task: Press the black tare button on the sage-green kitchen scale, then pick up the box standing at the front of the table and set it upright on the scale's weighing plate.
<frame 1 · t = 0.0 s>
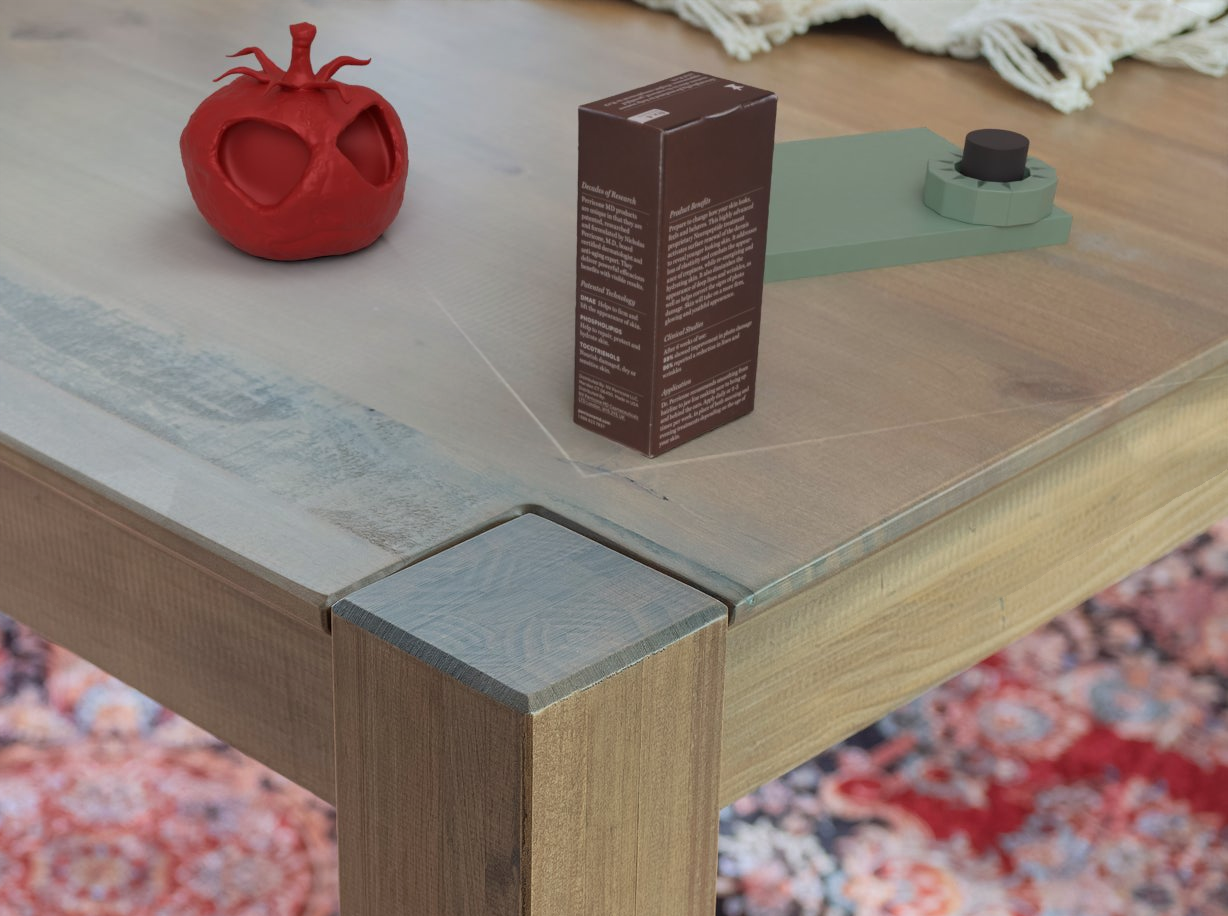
scale: (843, 215, 89), on the table
tare button: (994, 157, 86), point 4 cm above the table, slide at 0.1 cm
tomato with eye holes: (299, 240, 86), on the table
box: (658, 424, 72), on the table
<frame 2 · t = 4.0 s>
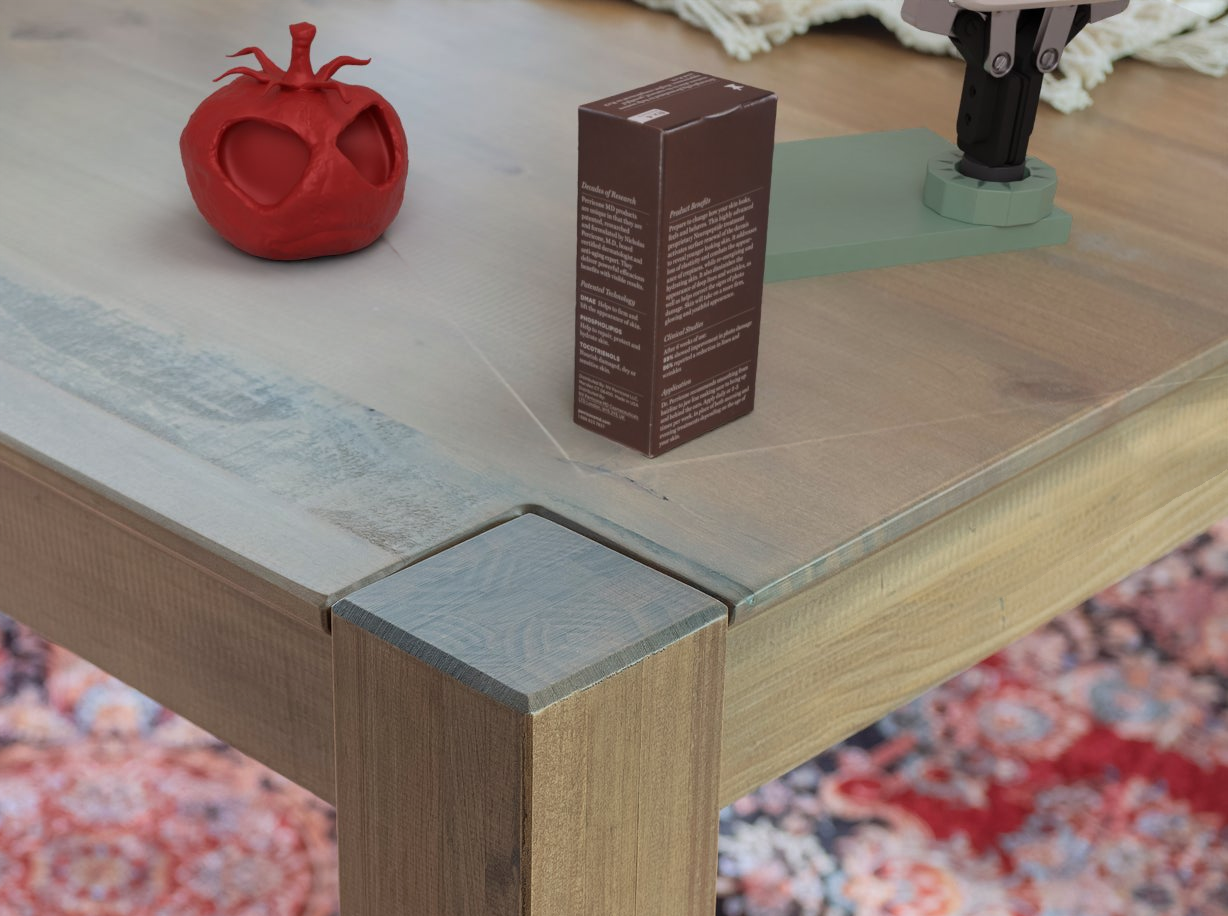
hand: (989, 155, 86), 4 cm above the table, tool pointing down, fingers closed
tare button: (991, 176, 86), point 3 cm above the table, slide at -0.7 cm, touching gripper
everything else where it was.
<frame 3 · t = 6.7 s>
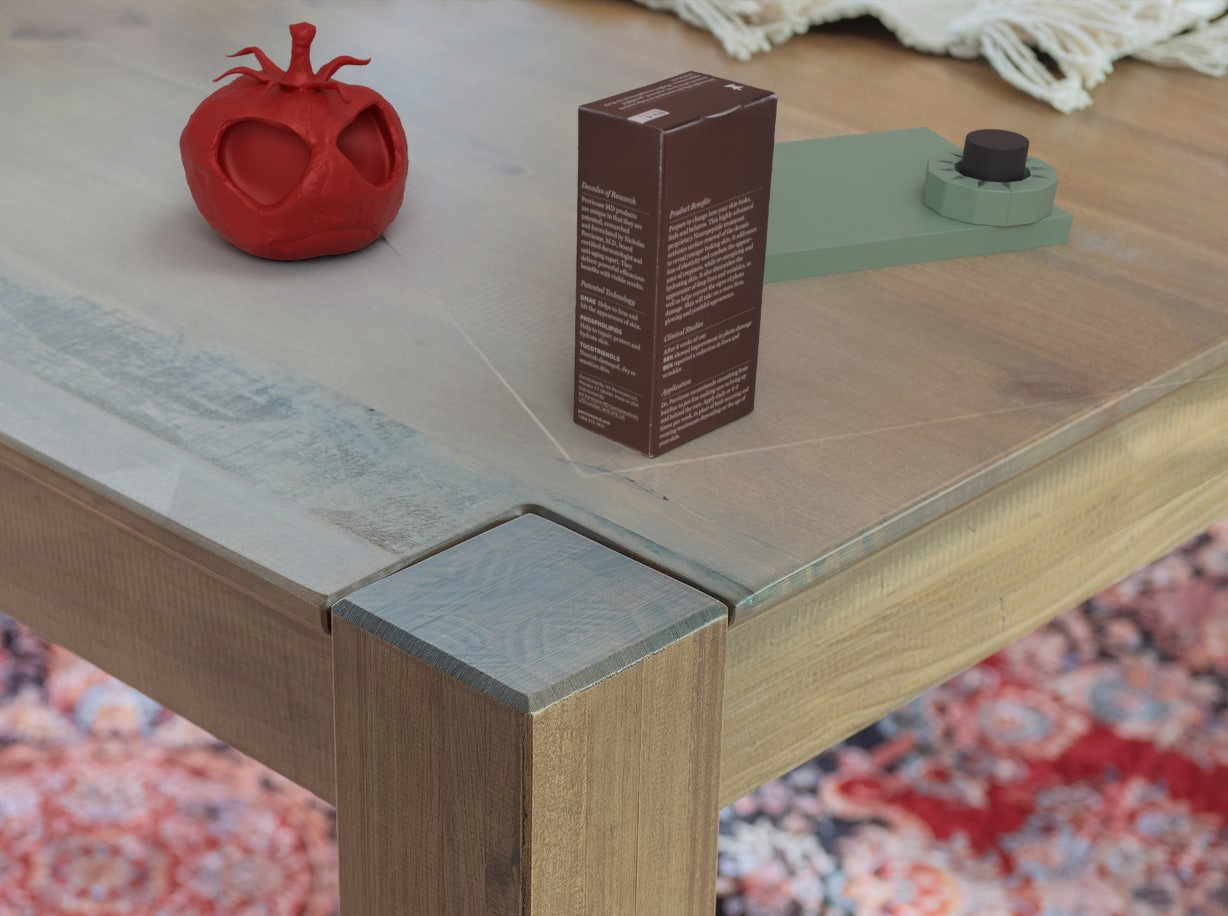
tare button: (994, 158, 86), point 3 cm above the table, slide at 0.1 cm
everything else where it was.
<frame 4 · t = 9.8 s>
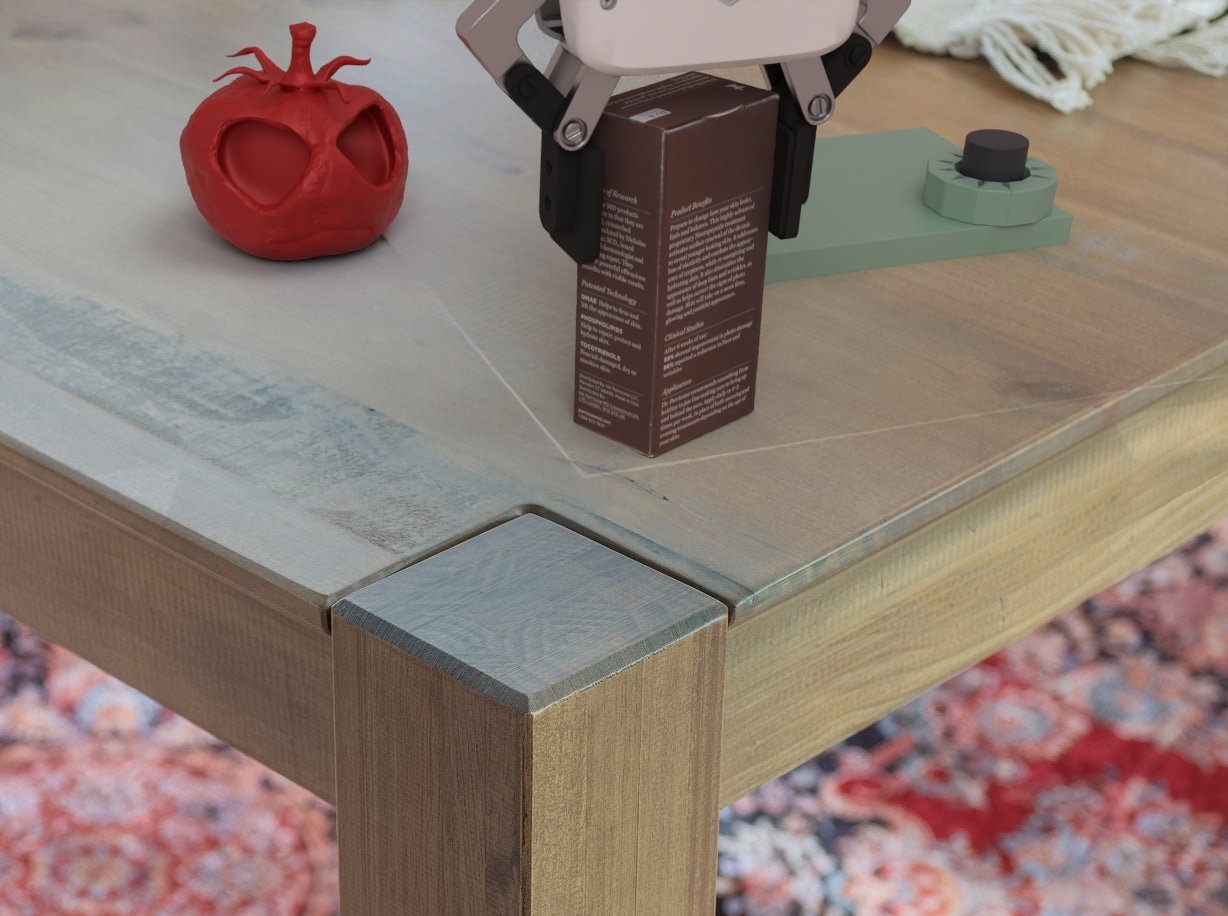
hand: (672, 234, 67), 7 cm above the table, tool pointing down, fingers closed on box, 7 cm apart
box: (659, 424, 72), on the table, touching gripper
everything else where it was.
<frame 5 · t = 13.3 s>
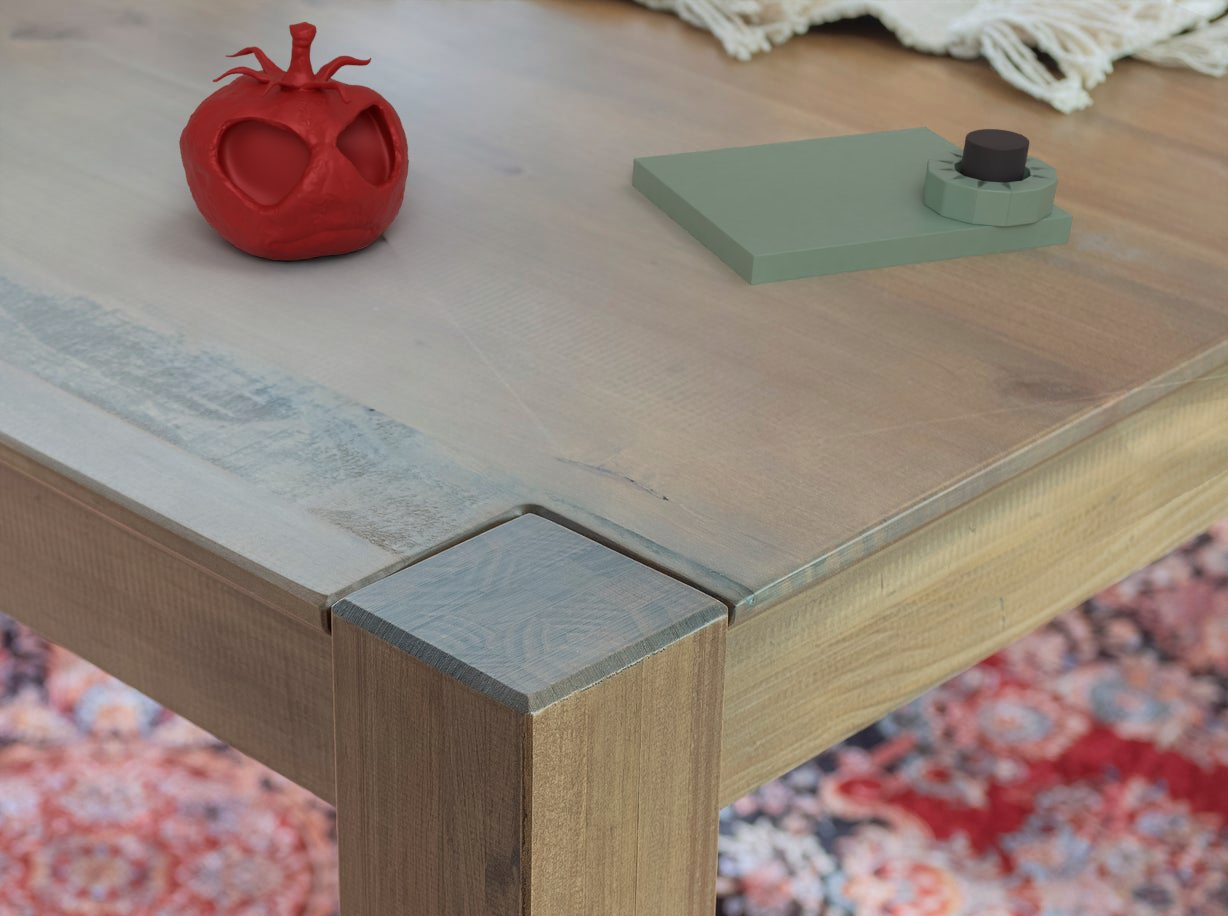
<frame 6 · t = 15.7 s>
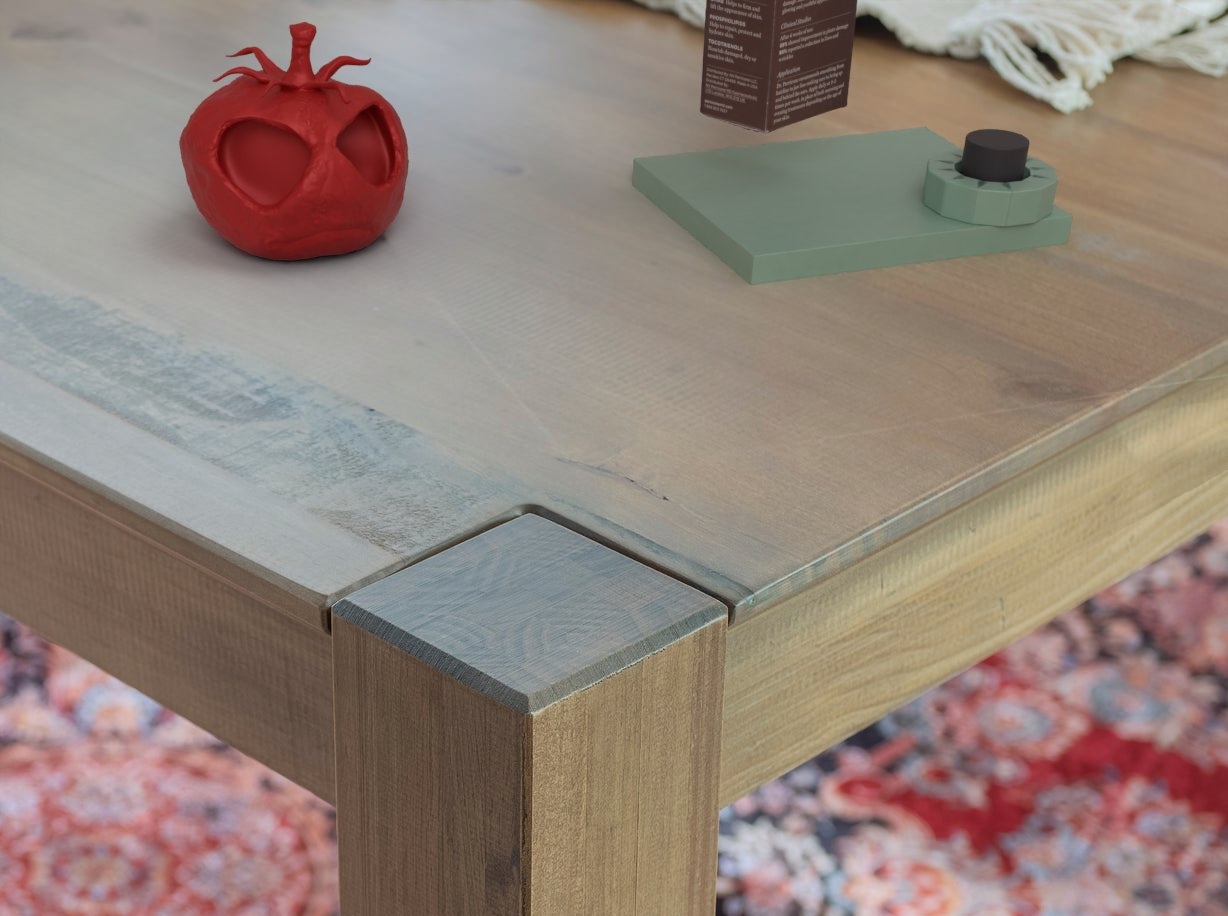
box: (769, 116, 87), point 4 cm above the table, touching gripper
everything else where it was.
when the fingers open (9 cm above the table, at t = 17.3 s): box stays where it is, resting on scale.
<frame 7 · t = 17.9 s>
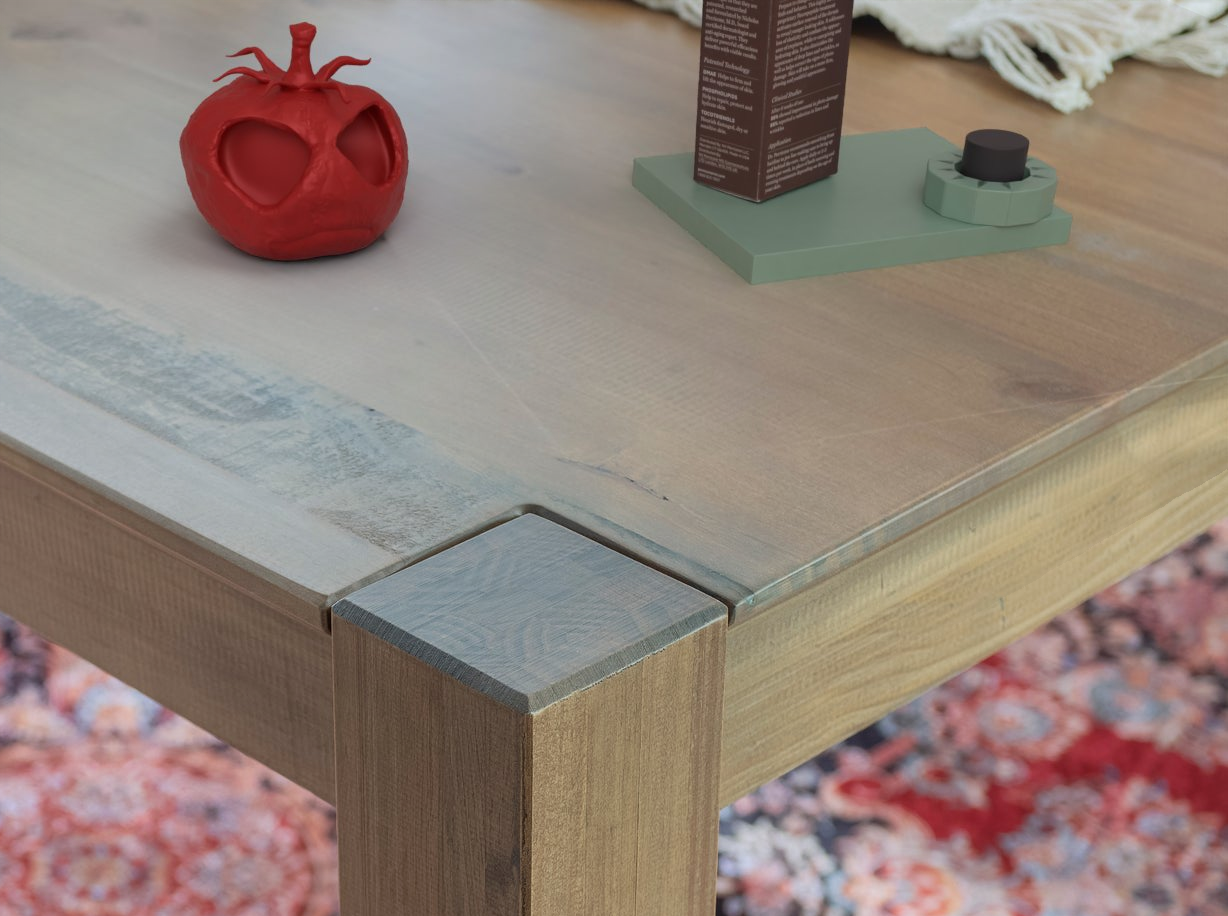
box: (761, 183, 89), point 1 cm above the table, touching scale
everything else where it was.
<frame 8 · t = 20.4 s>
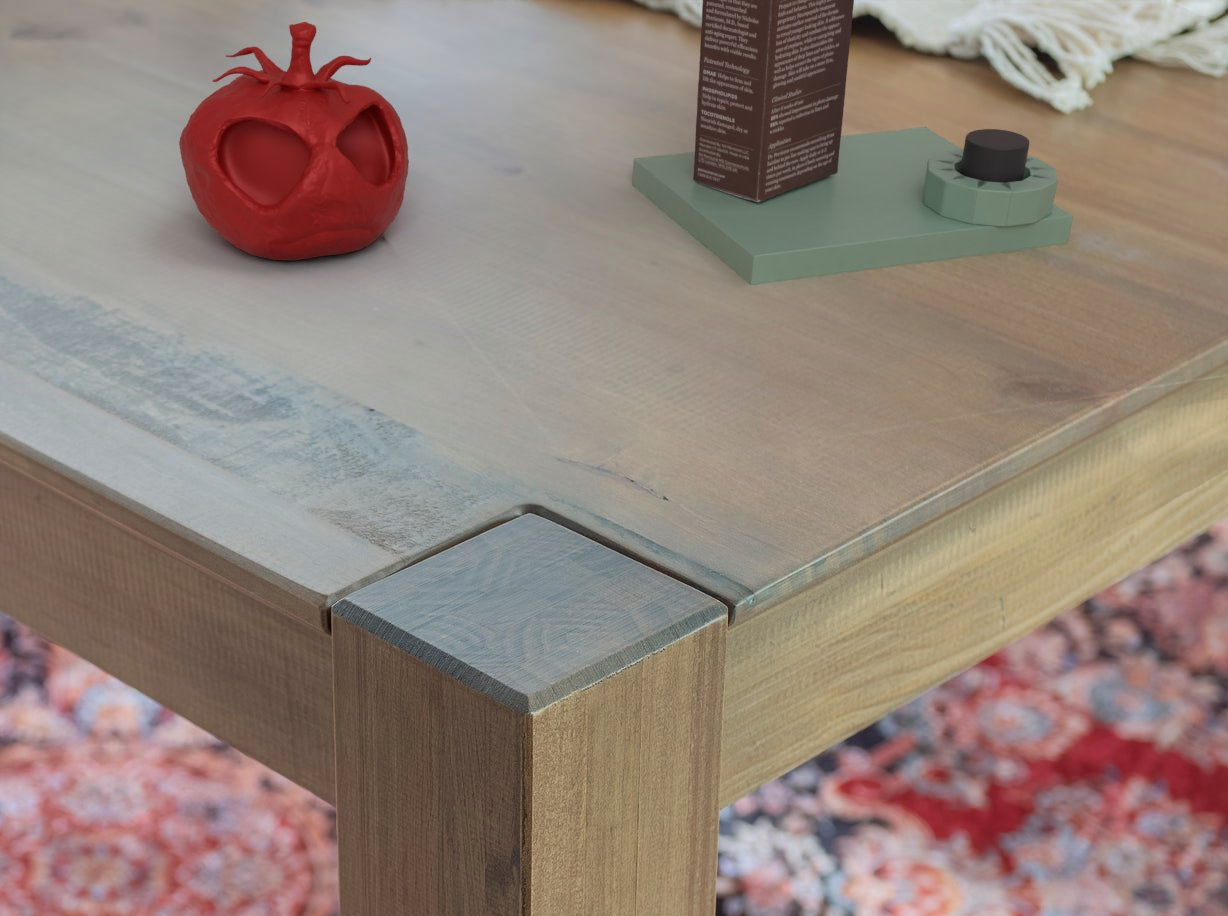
nothing on the table moved.
at the end: tare button pushed in 0.9 cm at the most during the clip, back to where it started at the end; box inside the target area on the scale (0.1 cm from its centre), point 1.2 cm above the scale's base; box touching scale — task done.
